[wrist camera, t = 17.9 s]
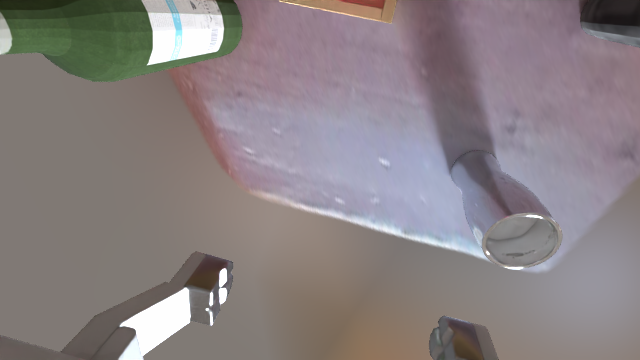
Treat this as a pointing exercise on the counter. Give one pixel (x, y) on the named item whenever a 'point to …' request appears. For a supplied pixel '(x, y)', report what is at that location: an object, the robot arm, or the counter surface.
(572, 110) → the counter surface
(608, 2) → the beverage cup
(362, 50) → the counter surface
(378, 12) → the tray
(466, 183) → the beer glass
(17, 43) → the wine bottle
